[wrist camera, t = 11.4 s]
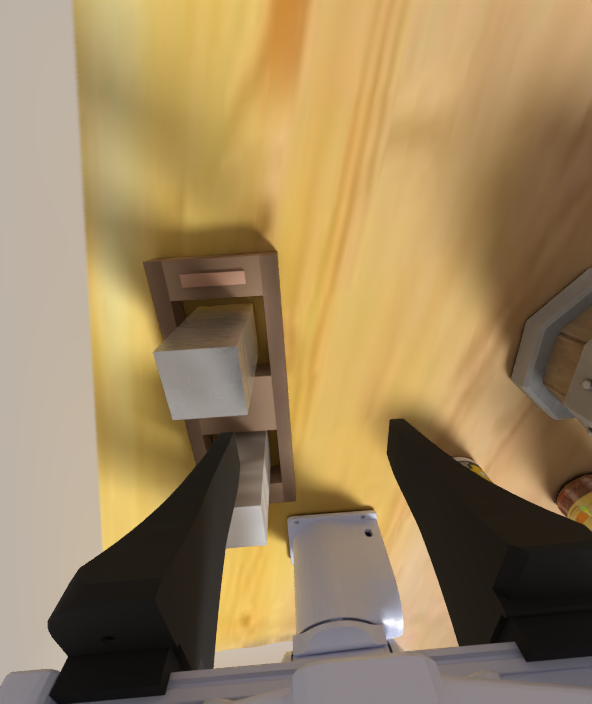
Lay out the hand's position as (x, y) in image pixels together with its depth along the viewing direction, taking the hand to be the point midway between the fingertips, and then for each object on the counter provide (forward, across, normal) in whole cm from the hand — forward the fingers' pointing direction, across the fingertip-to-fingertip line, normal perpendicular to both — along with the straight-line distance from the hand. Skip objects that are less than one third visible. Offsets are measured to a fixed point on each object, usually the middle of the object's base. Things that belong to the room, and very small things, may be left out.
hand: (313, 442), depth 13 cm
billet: (+10, +5, -2) cm, 12 cm away
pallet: (+10, +5, +3) cm, 12 cm away
